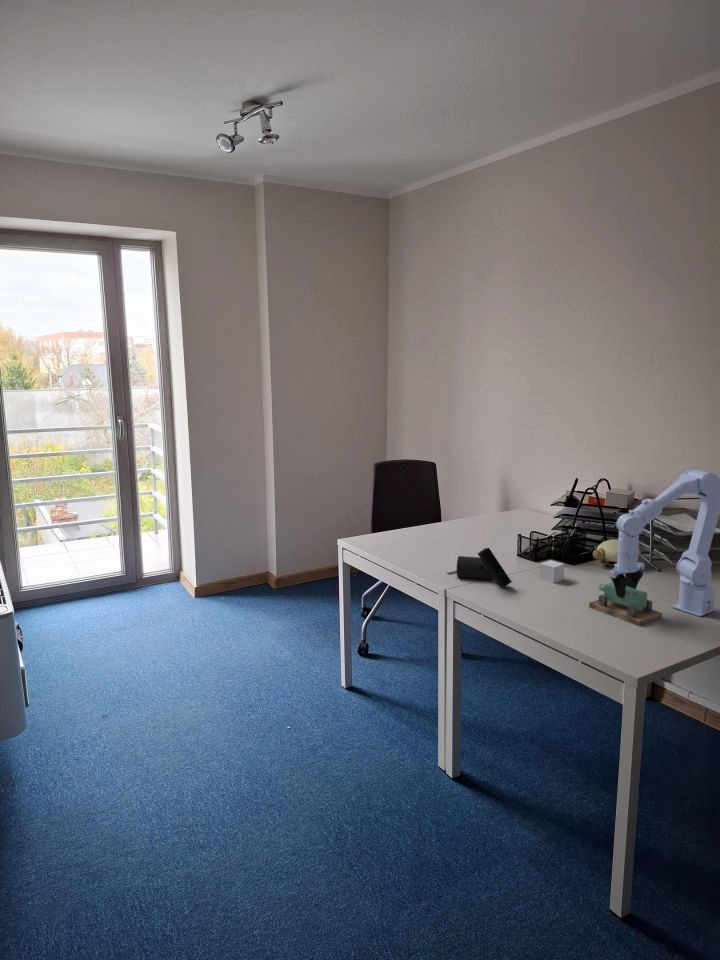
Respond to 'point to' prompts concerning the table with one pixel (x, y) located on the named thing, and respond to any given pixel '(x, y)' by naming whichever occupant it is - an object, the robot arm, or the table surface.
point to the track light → (482, 568)
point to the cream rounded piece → (608, 552)
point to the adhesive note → (551, 571)
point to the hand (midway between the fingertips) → (625, 595)
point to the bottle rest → (626, 611)
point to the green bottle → (625, 595)
